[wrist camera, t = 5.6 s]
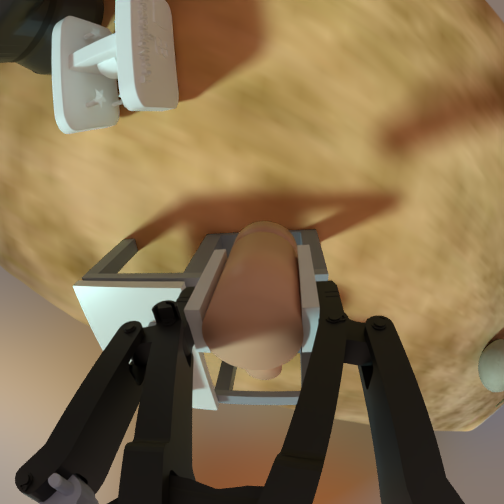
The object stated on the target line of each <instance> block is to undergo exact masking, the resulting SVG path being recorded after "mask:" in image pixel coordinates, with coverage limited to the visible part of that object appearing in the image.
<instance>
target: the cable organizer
mask: <svg viewBox="0 0 504 504" xmlns="http://www.w3.org/2000/svg"><path fill="white" fill-rule="evenodd" d="M114 22H115V33H113V34H112V33H111V31H110V30H109V29H108V28H106V27H103V26H100V25H98V24H95V23H92V22H89V21H86V20H83V19H80V18H77V17H74V16H67V17H65V18H64V19H62V20H60V21H59V22H57V23H56V25H55V26H54V28H53V32H52V88H53V102H54V113H55V119H56V123H57V125H58V127H59V129H60V130H61V131H62V132H63V133H65V134H71V133H77V132H83V131H89V130H95V129H102V128H107V127H110V126H114V125H116V124H117V122H118V120H119V115H120V109H119V105H121V104H123V105H124V107H126V108H127V109H128V110H130V111H166V110H170V109H175V108H176V107H177V105H178V100H179V91H178V82H177V72H176V62H175V50H174V38H173V25H172V14H171V10H170V7H169V5H168V3H167V2H166V1H165V0H115V21H114ZM117 79H118V85H119V92H120V95H119V96H118V90H117ZM118 97H121V99H120V100H118Z"/></svg>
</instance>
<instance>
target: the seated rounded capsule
mask: <svg viewBox="0 0 504 504" xmlns="http://www.w3.org/2000/svg"><path fill="white" fill-rule="evenodd" d="M245 370H246V372H247V373H248V374H249V375H250V376H252V377H253V378H256V379H261V380H269V379H273V378H275V377H277V376H278V375H279V374H280V373H281V370H282V365H281V366H278V367H276V368H272V369H267V370H248V369H245Z"/></svg>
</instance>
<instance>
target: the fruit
mask: <svg viewBox="0 0 504 504" xmlns="http://www.w3.org/2000/svg"><path fill="white" fill-rule="evenodd" d="M478 371H479V377H480V379H481V382H482V384H483V385H484V386H485V387H486V388H487V389H488V390H490V391H492V392H502V391H504V339H498V340H496V341H494V342H492V343H491V344H489V345H488V346H487V347H486V348H485V349H484V351H483V352H482V354H481V356H480V359H479V365H478ZM503 401H504V399H503V400H502V401H501V402H499V403H498V404H497V405H496V407H497V406H498V405H499V404H500V403H502V402H503Z"/></svg>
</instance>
